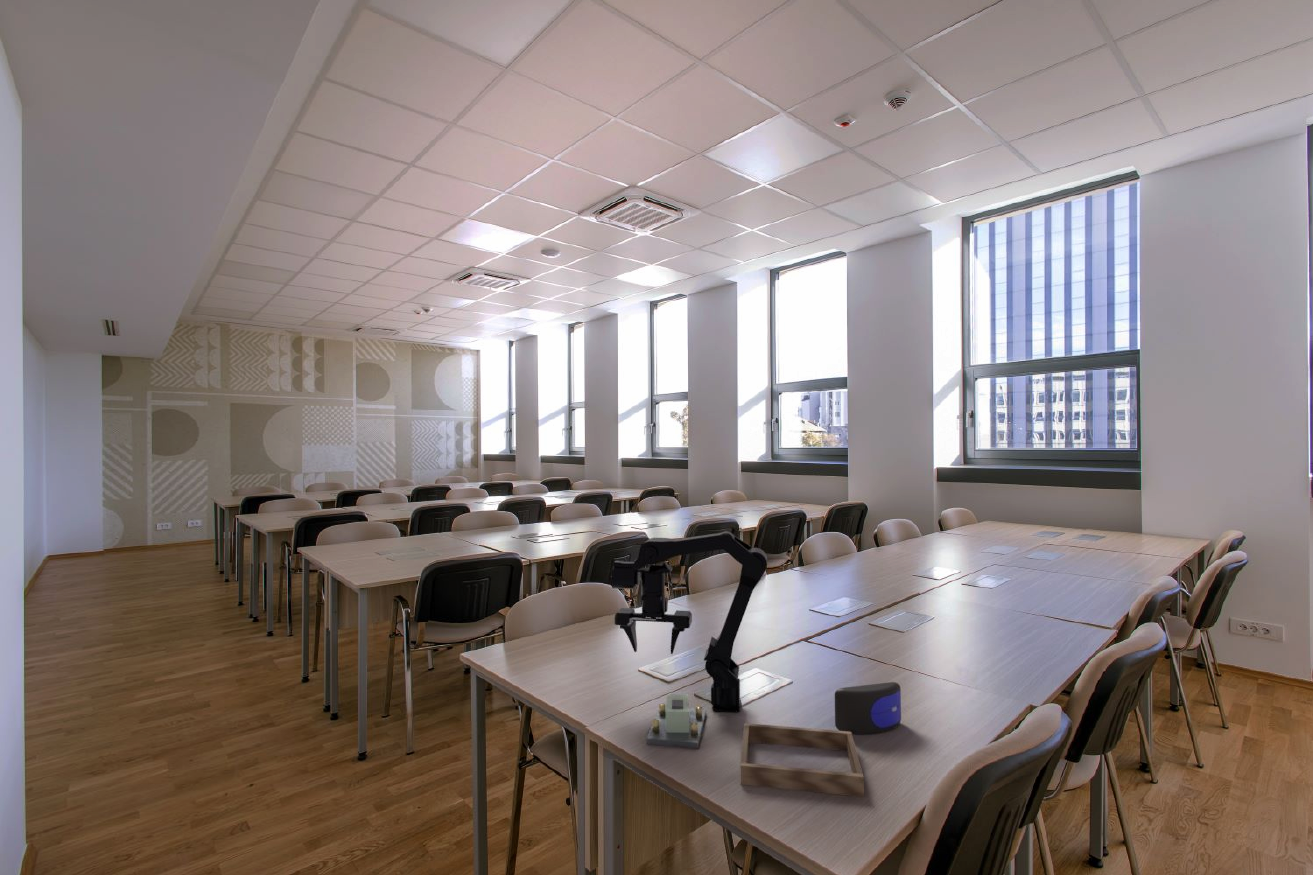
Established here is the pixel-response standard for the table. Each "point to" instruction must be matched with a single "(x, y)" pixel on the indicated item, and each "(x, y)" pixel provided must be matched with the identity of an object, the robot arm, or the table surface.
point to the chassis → (686, 740)
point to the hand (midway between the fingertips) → (653, 652)
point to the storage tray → (800, 776)
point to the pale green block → (677, 713)
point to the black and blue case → (868, 708)
